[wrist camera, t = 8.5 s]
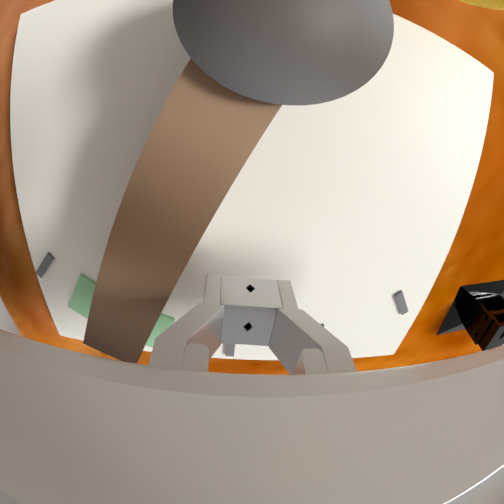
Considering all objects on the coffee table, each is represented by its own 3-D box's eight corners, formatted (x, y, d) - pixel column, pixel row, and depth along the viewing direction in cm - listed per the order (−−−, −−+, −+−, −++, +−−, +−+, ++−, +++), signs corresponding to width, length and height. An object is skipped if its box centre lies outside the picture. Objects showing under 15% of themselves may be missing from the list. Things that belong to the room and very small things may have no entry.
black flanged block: (522, 267, 18) (548, 295, 14) (494, 323, 22) (514, 351, 18) (447, 274, 17) (480, 314, 14) (414, 341, 21) (435, 381, 17)
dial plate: (37, 17, 7) (18, 13, 6) (476, 71, 10) (496, 73, 8) (67, 320, 17) (58, 337, 16) (386, 340, 20) (394, 356, 18)
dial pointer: (244, -34, 6) (249, -95, 2) (357, 30, 8) (422, 6, 4) (80, 321, 14) (53, 379, 11) (154, 353, 16) (141, 416, 12)
